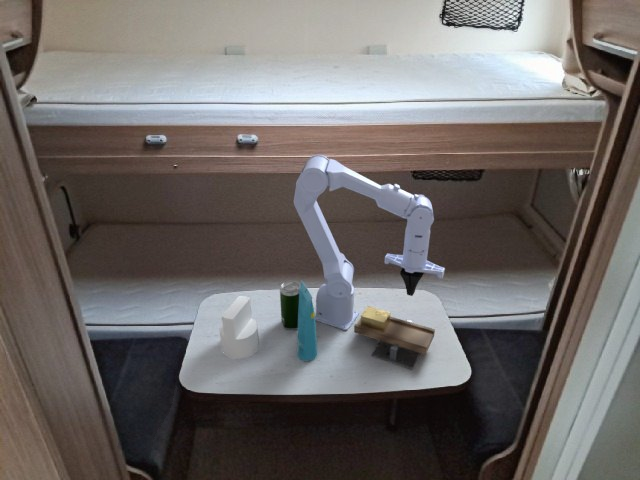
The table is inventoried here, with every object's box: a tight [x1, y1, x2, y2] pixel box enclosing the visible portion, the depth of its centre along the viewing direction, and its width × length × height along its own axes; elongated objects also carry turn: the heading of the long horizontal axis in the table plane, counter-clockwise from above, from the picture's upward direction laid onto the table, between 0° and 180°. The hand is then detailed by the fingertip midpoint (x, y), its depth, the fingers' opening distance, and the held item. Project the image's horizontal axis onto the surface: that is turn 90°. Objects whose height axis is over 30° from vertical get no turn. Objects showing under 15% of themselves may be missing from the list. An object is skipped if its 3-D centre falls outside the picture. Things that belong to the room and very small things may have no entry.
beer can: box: [279, 280, 301, 331], centre depth 120 cm, size 5×5×12 cm
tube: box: [296, 279, 318, 362], centre depth 109 cm, size 7×5×19 cm, turn 26°
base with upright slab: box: [218, 295, 260, 360], centre depth 113 cm, size 9×9×12 cm
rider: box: [360, 305, 391, 332], centre depth 116 cm, size 6×4×3 cm
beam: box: [353, 316, 436, 355], centre depth 115 cm, size 18×8×3 cm, turn 63°
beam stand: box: [371, 319, 421, 371], centre depth 115 cm, size 10×13×4 cm
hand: (410, 293), depth 119 cm, fingers closed
